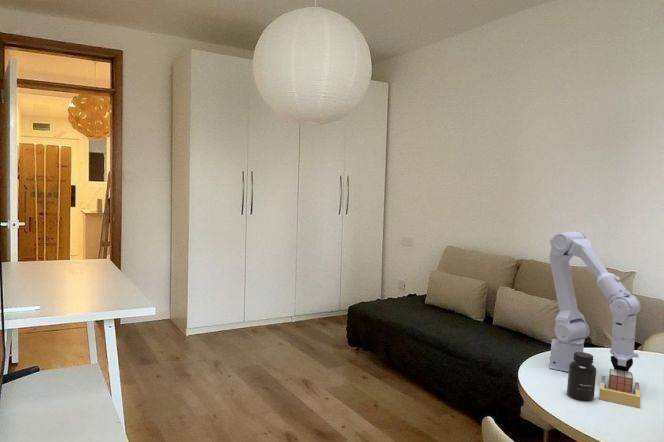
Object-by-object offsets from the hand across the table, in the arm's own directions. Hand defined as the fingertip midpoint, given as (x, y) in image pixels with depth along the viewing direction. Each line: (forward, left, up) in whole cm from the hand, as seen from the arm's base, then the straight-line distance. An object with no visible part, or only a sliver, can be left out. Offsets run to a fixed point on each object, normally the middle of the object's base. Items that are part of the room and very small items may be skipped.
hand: (620, 382), depth 145 cm
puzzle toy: (0, -4, -2) cm, 5 cm away
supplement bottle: (-9, -14, -2) cm, 17 cm away
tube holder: (0, -6, -1) cm, 6 cm away
